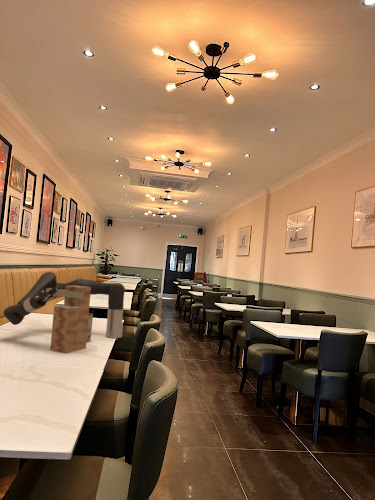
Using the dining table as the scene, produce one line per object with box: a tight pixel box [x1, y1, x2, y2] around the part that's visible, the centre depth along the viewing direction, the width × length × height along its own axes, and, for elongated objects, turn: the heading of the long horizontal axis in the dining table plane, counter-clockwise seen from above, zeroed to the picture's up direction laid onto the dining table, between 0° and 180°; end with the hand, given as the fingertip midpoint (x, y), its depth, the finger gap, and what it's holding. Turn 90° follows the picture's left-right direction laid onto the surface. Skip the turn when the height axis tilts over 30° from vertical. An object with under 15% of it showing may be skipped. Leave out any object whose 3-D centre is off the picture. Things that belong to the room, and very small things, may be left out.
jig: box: [49, 286, 91, 354], centre depth 184 cm, size 10×15×32 cm, turn 157°
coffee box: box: [86, 312, 94, 343], centre depth 205 cm, size 9×6×16 cm
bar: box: [46, 288, 84, 299], centre depth 182 cm, size 22×3×3 cm, turn 67°
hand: (58, 289), depth 184 cm, fingers closed on bar, 3 cm apart
